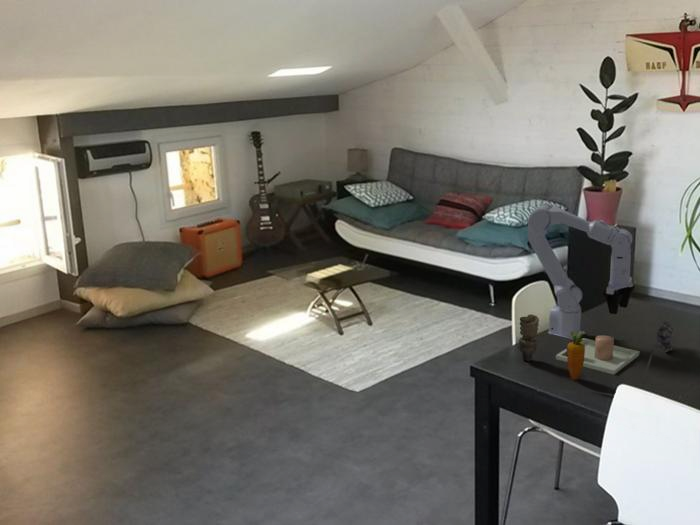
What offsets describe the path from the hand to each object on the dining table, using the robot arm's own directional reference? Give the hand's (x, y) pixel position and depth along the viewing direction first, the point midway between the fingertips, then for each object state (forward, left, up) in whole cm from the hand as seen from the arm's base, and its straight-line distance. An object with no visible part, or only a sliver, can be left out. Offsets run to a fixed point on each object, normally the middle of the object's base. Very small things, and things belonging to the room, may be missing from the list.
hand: (618, 310), depth 229 cm
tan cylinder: (+3, -16, -10) cm, 19 cm away
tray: (+2, -17, -10) cm, 20 cm away
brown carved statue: (-13, -32, -11) cm, 36 cm away
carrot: (+3, -36, -11) cm, 37 cm away
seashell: (+15, +1, -11) cm, 18 cm away
